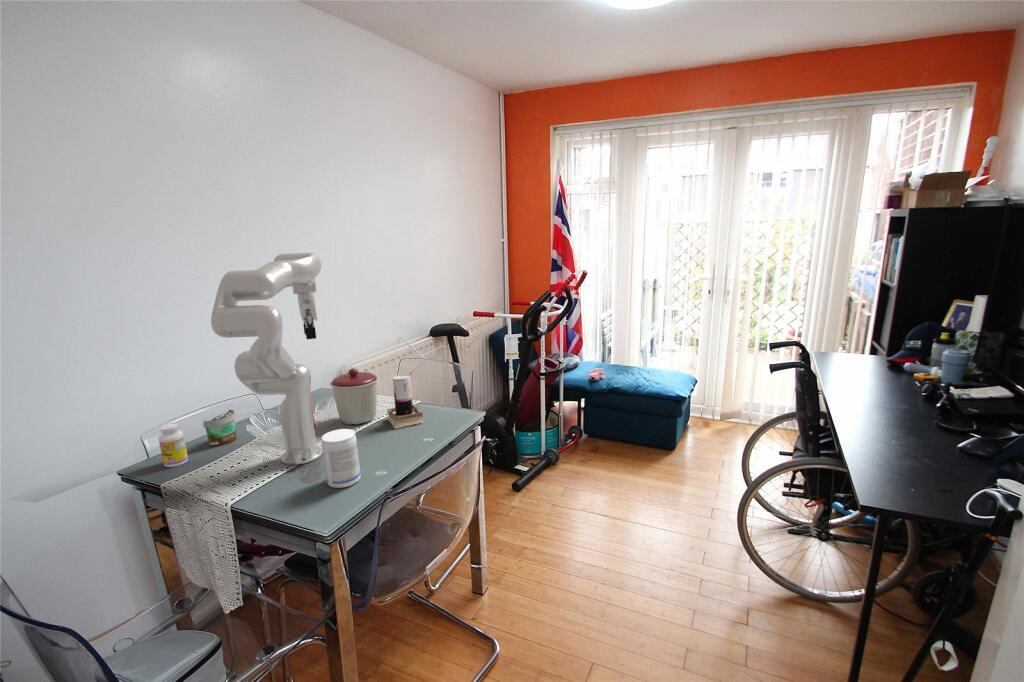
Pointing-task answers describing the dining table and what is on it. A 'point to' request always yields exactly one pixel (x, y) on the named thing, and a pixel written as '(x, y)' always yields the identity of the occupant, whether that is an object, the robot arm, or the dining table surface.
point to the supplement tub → (341, 458)
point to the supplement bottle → (173, 446)
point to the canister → (355, 396)
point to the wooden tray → (405, 418)
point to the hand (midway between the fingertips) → (310, 336)
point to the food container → (221, 429)
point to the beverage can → (402, 395)
